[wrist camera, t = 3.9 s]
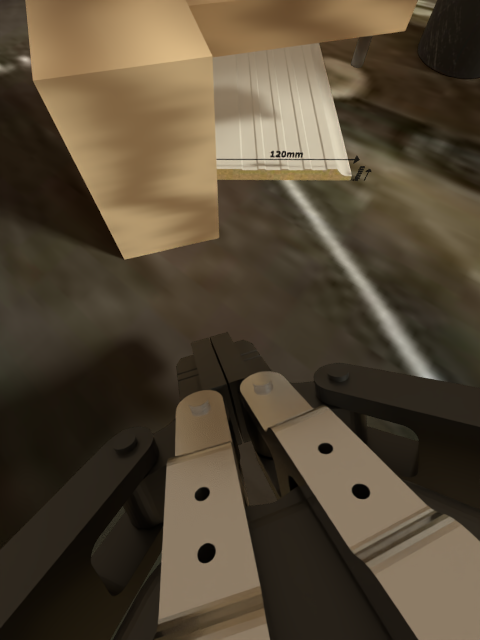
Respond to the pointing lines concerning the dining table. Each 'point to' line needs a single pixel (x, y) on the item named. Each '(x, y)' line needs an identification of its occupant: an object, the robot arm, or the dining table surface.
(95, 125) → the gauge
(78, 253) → the dining table surface
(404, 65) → the dining table surface
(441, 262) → the dining table surface
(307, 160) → the baseboard
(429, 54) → the travel mug
